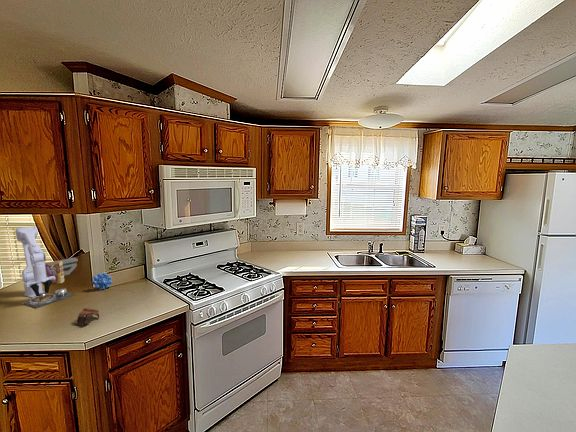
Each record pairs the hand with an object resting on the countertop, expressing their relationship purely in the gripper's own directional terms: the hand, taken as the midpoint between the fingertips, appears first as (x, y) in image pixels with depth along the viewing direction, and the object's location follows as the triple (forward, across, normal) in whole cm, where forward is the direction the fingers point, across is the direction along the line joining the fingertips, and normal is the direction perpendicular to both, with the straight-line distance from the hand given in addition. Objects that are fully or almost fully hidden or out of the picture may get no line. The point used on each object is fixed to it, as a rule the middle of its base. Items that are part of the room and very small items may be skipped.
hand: (42, 294), depth 175 cm
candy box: (+5, +23, +30) cm, 38 cm away
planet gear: (+4, 0, 0) cm, 4 cm away
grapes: (+5, +27, -16) cm, 32 cm away
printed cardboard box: (+5, +33, +46) cm, 57 cm away
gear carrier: (+5, +4, 0) cm, 6 cm away
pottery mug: (+5, -6, -51) cm, 52 cm away
